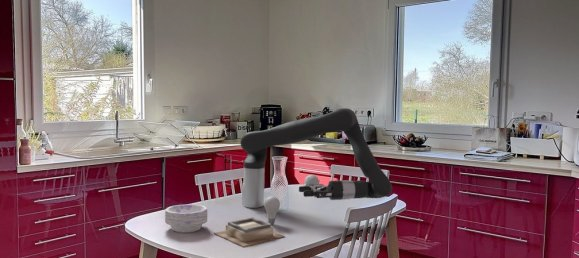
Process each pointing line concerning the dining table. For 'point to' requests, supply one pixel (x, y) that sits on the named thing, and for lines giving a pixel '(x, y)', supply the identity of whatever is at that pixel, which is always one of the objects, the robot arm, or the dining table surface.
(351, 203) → the dining table surface
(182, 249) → the dining table surface
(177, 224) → the paper bowls
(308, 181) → the round bodied animal figurine
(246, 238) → the square tan tray
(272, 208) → the lightbulb
